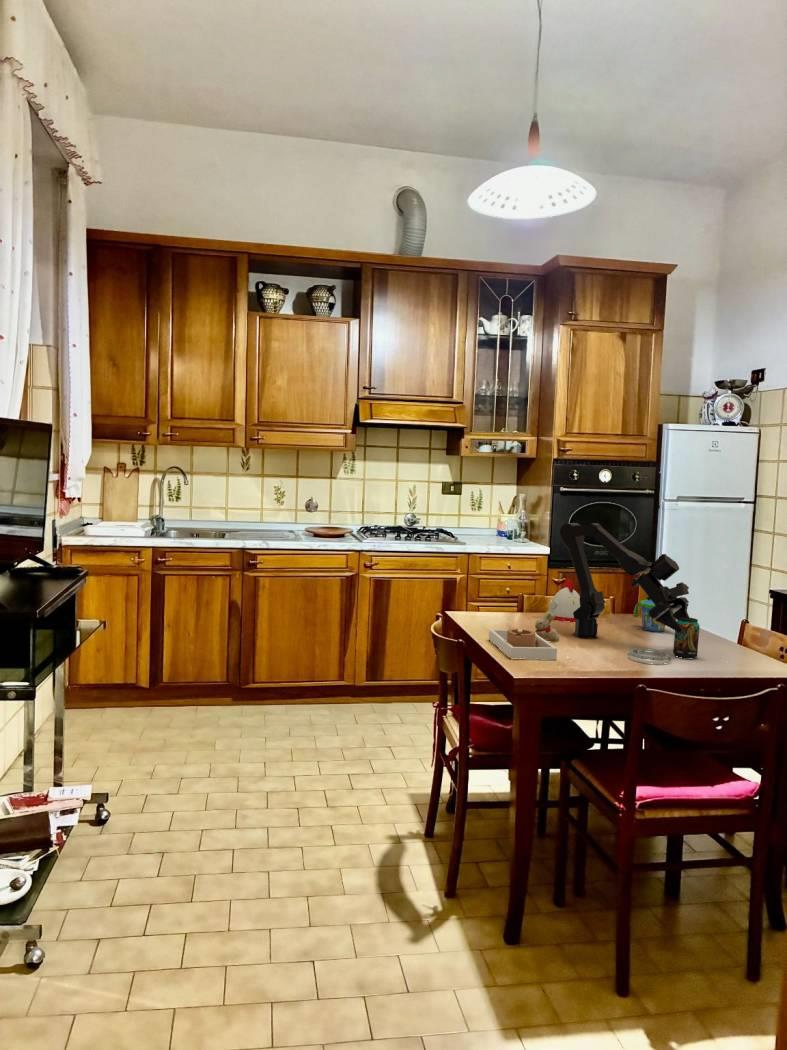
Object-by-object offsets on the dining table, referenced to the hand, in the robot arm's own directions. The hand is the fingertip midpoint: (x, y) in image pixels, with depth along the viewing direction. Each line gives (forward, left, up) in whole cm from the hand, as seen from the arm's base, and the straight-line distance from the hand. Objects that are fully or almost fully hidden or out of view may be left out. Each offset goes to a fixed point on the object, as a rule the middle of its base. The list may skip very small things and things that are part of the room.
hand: (686, 629), depth 239 cm
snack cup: (+9, +38, -9) cm, 40 cm away
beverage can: (0, 0, -9) cm, 9 cm away
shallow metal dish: (-14, -4, -8) cm, 17 cm away
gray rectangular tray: (-51, +6, -8) cm, 52 cm away
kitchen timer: (-17, +56, -9) cm, 59 cm away
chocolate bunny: (-38, +19, -9) cm, 43 cm away
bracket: (-51, +6, -9) cm, 52 cm away
